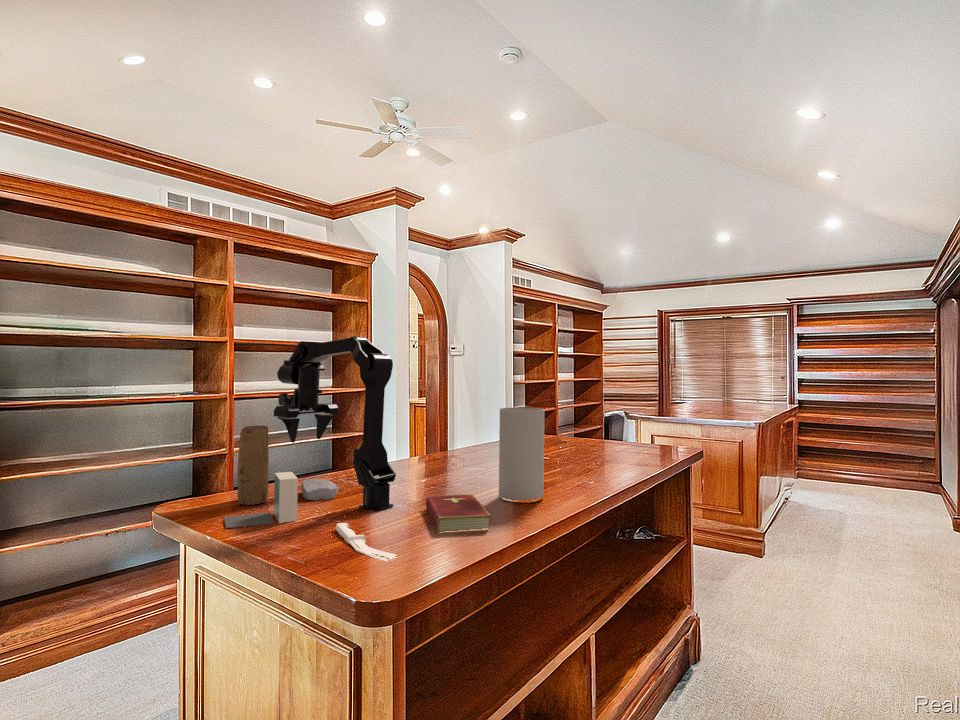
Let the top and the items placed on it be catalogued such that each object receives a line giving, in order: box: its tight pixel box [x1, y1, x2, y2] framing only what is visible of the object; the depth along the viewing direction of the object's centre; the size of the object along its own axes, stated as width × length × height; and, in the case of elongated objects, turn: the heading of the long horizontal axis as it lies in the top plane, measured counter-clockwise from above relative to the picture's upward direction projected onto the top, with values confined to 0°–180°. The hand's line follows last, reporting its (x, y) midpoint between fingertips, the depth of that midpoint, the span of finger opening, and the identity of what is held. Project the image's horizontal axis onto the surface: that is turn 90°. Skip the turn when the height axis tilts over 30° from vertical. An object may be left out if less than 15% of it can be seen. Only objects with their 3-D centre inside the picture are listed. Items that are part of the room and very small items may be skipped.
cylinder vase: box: [498, 407, 545, 500], centre depth 153 cm, size 12×12×25 cm
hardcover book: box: [425, 493, 492, 534], centre depth 130 cm, size 12×21×4 cm, turn 12°
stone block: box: [300, 478, 340, 502], centre depth 153 cm, size 12×5×10 cm
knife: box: [335, 522, 398, 562], centre depth 109 cm, size 30×2×8 cm
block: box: [237, 425, 270, 506], centre depth 145 cm, size 11×8×20 cm
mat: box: [223, 512, 275, 530], centre depth 126 cm, size 10×10×1 cm
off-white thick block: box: [273, 471, 299, 524], centre depth 130 cm, size 4×9×10 cm, turn 28°
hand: (305, 440), depth 155 cm, fingers open, 9 cm apart
